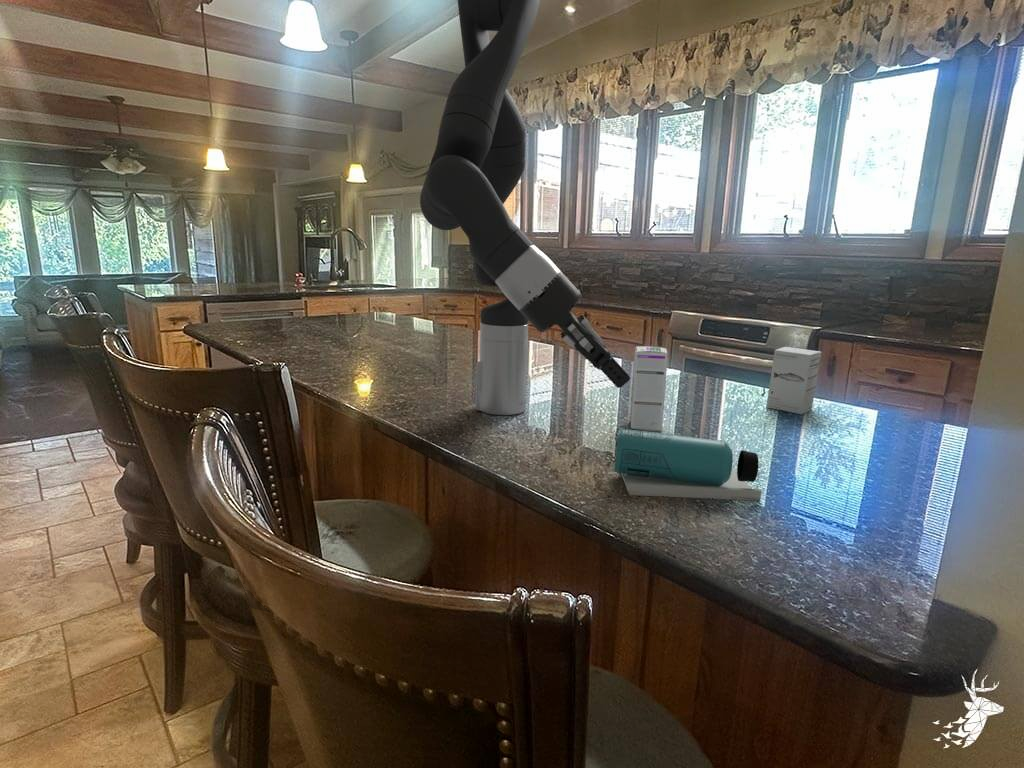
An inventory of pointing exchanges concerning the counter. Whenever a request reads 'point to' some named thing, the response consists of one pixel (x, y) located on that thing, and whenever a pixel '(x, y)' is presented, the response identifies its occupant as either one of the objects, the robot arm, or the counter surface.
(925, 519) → the counter surface
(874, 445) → the counter surface
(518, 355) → the robot arm
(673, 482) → the panel with raised edges
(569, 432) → the counter surface
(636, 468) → the beverage bottle
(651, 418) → the syrup box
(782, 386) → the supplement box
